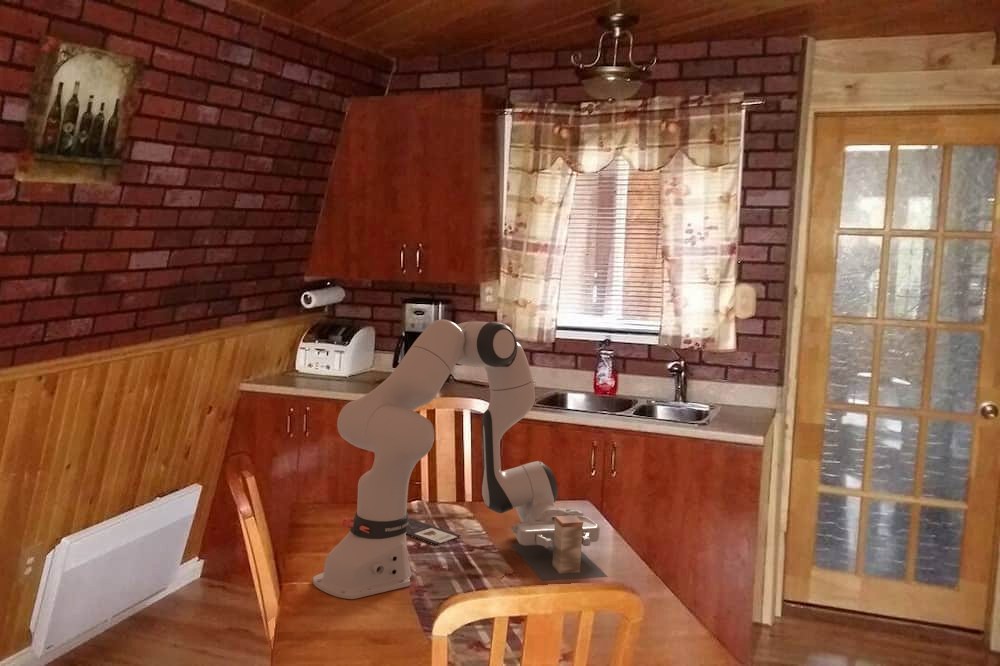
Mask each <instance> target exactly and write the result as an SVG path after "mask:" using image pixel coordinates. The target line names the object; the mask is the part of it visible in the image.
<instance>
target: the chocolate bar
mask: <svg viewBox="0 0 1000 666" xmlns="http://www.w3.org/2000/svg"><path fill="white" fill-rule="evenodd" d="M406 534H407V535H410V536H413V537H416V538H419V539H421V540H424V541H426V542H425V543H427V542H429V543H432V544H434V545H433V546H435V545H437V546H439V545H438V544H440V543H442V542H445V541H448V540H451V539H454V538H457V537H459V536H461V535H460V534H458V533H455V532H451V531H448V530H445V529H443V528H439V527H437V526H434V525H431V524H428V523H426V522H423V521H419V520H416V519H414V518H408V530H407V531H406ZM407 535H406V536H407ZM410 536H409V537H410ZM413 537H412V538H413ZM416 538H415V539H416ZM421 540H420V541H421ZM424 541H423V542H424ZM429 543H428V544H429ZM432 544H431V545H432ZM440 545H441V544H440Z"/></svg>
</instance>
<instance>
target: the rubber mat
mask: <svg viewBox="0 0 1000 666" xmlns="http://www.w3.org/2000/svg"><path fill="white" fill-rule="evenodd" d="M510 545H511V547H512V548H513V549H514V550H515V551H516V552H517V553H518V555H519V556H520V557H521V558H522V559H523V561H524V562H525V563H526V564H527V565H528V566H529V568H530V569H531V570H532V571H533V572H534V574H536V575H537V577H538V578H539V579H540V580H541V582H547V581H549V582H550V581H563V580H576V579H577V580H578V579H591V578H594V579H595V578H605V577H608V575H607V574H606V573H605V572H604V571H603V570H602V569H601V568H600V567H599V566H598V565H596V563H594V562H593V561H592V560H591V559H590V558H589V557H588V556H587V555H586V554H585V553H584V552H583V551H582V550H581V561H580V572H575V573H559V572H558V571H557V570H556V569H555V568H554V567H553V566H552V562H553V545H554V544H552V548H545V547H544V546H542V545H527V546H525V545H521V544H520V543H511V544H510Z"/></svg>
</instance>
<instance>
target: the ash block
mask: <svg viewBox="0 0 1000 666" xmlns="http://www.w3.org/2000/svg"><path fill="white" fill-rule="evenodd" d="M582 529H583V522H582V521H581V520H580V519H579V518H577V517H576V516H575V515H573V516H555V528H554V545H553V562H552V566H553V567H554V568H555V569H556V570H557V571H558V572H559V573H575V572H580V561H581V551H582Z"/></svg>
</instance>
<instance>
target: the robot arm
mask: <svg viewBox="0 0 1000 666" xmlns="http://www.w3.org/2000/svg"><path fill="white" fill-rule="evenodd" d="M456 366H458V367H459V366H466V367H473V368H484V370H485V372H486V376H487V382H488V388H489V394H490V398H489V403H488V407H487V409H486V410H485V411H484V412H483V413H482V417H481V427H480V428H481V429H480V430H481V455H482V457H481V458H482V459H481V460H482V462H481V463H482V482H481V483H482V484H481V495H482V499H483V502H484V503H485V506H486V507H487V508H488V509H489V510H491V511H493V512H495V513H498V514H505V513H507V512H508V511H511V510H513V509H515V510H516V513H517V515H518V518H519V520H520V521H519V522H517V523H516V524H515V525H514V526H512V525H511V527H510V530H511V532H512V533H514V534H515V537H516V540H517V542H518V544H521V545H525V546H527V545H542V546H544V547H545V548H552V544H554V528H555V516H573V515H575V516H576V517H577V518H579V519H580V520H581V521H582V522H583V529H582V545H583V546H584V547H588V546H589V547H590V546H591V543H595V542H598V541H599V539H600V534H601V533H600V526H599V525H598V524H597V522H595V521H594V520H593V519H592V518H590V517H588V516H584V512H583V511H581V510H577V509H568V508H562V507H560V506H556V505H554V504H555V503H556V501H557V497H558V494H559V493H558V491H559V490H558V484H557V480H556V477H555V474H554V473H553V471H552V469H551V468H550V467H549V466H547V464H545V463H544V462H543V461H540V460H536V461H531V462H527V463H524V464H521V465H519V466H516V467H512V468H508V469H505V470H501V469H502V468H501V439H502V438H503V436H504V434H505V433H506V432H507V431H508V430H509V429H511V427H512V426H514V425H515V424H517V423H518V422H519V421H521V420H523V418H525V417H526V416H527V415H528V414H529V412H530V411H531V409H532V408H533V406H534V404H535V400H536V390H535V385H534V380H533V375H532V371H531V367H530V363H529V361H528V358H527V356H526V353H525V351H524V348H523V346H522V345H521V344H520V343H519V342H518V341H517V338H516V335H515V333H514V331H513V330H512V328H511V327H509V325H507V324H504V323H502V322H497V321H480V320H472V321H465V322H456V323H455V322H453V321H451V320H448V319H443V318H442V319H437V320H434V321H432V322H431V323H430V324H429V325H428V326H427V327H426V328H425V329H424V330H423V331H422V332H421V333H420V335H419V336H418V337H417V338H416V339H415V340H414V342H413V343H412V345H411V346H410V348H409V349H408V350H407V352H406V353H405V355H404V356H403V358H402V359H401V361H400V362H399V363H398V365H397V366H396V367H395V368H394V370H393V371H392V372H391V373H390V375H389V376H388V377H386V378H385V380H383V381H382V382H381V383H380V384H378V385H377V387H375V388H374V389H372V390H371V391H370V392H368V393H367V394H365V395H364V396H362V397H359V398H358V399H355V400H352V401H350V402H347V403H346V404H345V405H344V406H343V407H342V408H341V410H340V412H339V414H338V417H337V422H336V423H337V424H336V425H337V426H336V427H337V431H338V434H339V435H340V436H341V438H342V439H343V440H345V441H346V442H347V443H349V444H351V445H352V446H354V447H356V448H359V449H363V450H366V451H369V452H372V453H374V461H373V463H372V465H371V466H372V467H371V469H370V470H368V471H366V472H365V473H364V474H363V473H362V475H361V476H360V478H359V480H358V482H357V483H358V484H357V505H356V508H357V509H356V512H355V515H354V516H353V519H350V518H349V517H344V518H342V520H341V525H342V527H344V528H347V529H349V532H348V533H347V535H345V536H344V537H343V538H342V539H341V540H340V542H339V543H337V544H336V545H335V547H334V548H333V549H332V550H331V551H330V552H329V553H328V554H327V555H326V558H325V562H324V567H323V568H324V569H323V572H321V573H318V574H316V575H315V576H313V577H312V584H313V585H314V587H316V588H317V589H319V590H320V591H322V592H324V593H326V594H328V595H330V596H333V597H337V598H341V599H347V600H356V599H359V598H364V597H367V596H368V597H369V596H372V595H376V594H381V593H385V592H389V591H394V590H398V589H403V588H406V587H410V586H411V577H412V575H413V574H412V570H411V566H410V560H409V555H408V553H409V552H408V543H407V535H406V531H407V530H408V519H409V513H408V512H407V511H408V510H407V509H408V495H409V494H408V493H409V492H408V491H409V485H410V484H409V483H410V479H411V475H412V472H413V470H414V469H415V466H416V464H418V462H419V461H421V460H422V459H423V458H424V457H426V456H427V454H429V452H430V450H431V449H432V447H433V444H434V441H435V429H434V425H433V424H432V422H431V420H430V419H428V417H425V416H424V415H422V414H420V413H418V412H417V411H415V410H417V409H419V408H421V407H424V406H426V405H428V404H429V403H431V402H432V401H434V400H435V398H436V397H437V395H438V393H439V392H440V390H441V389H442V387H443V385H444V384H445V383H446V381H447V380H448V378H449V376H450V375H451V374H452V371H453V370H454V368H455V367H456ZM582 545H581V546H582Z"/></svg>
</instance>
